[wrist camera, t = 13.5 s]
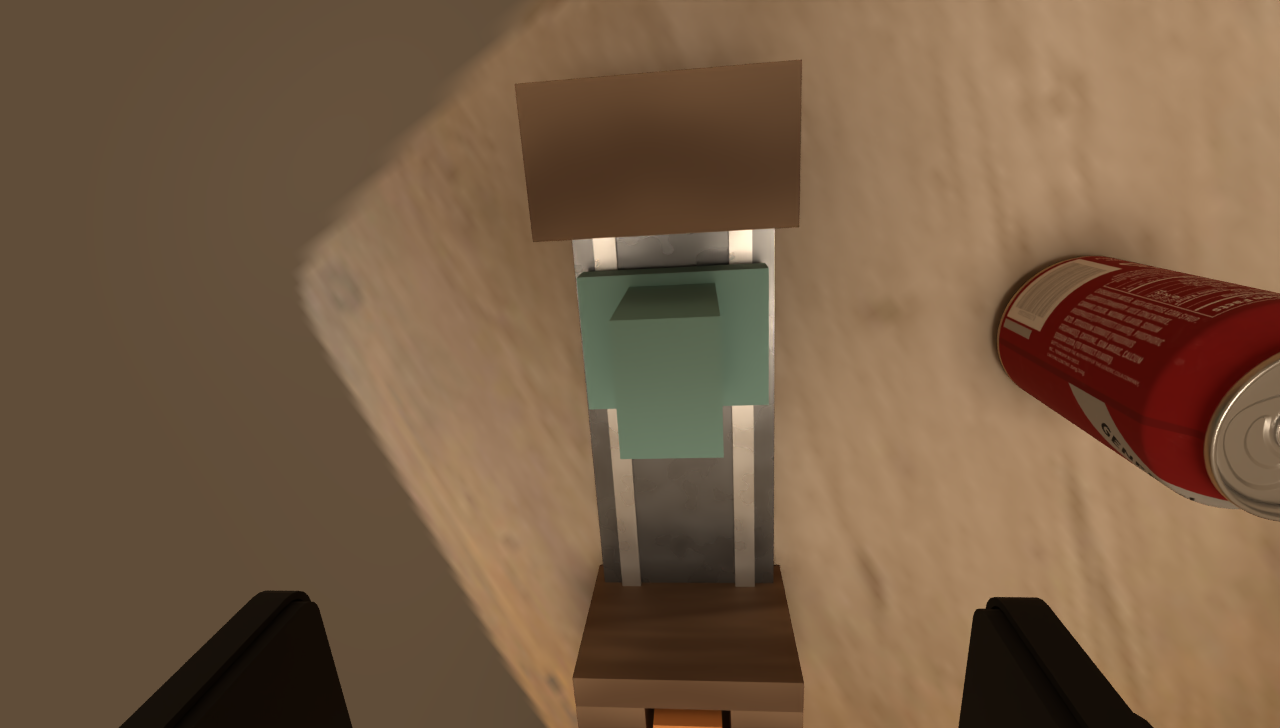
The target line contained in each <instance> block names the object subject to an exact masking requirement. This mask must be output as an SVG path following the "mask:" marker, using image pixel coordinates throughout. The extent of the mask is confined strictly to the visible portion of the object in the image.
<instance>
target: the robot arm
mask: <svg viewBox="0 0 1280 728" xmlns="http://www.w3.org/2000/svg"><path fill="white" fill-rule="evenodd" d="M119 728H352V724H351V721H350V718H349V714H348V710H347V707H346V703H345V699H344V696H343V692H342V689H341V685H340V682H339V678H338V675H337V671H336V667H335V664H334V660H333V657H332V654H331V649H330V646H329V642H328V639H327V635H326V632H325V628H324V625H323V621H322V618H321V614H320V610H319V608H318V606H317V604H316V603H315V602H311V600H310V598H309V596H308V595H307V594H306V593H305V592H301V591H263V592H260V593H258V594H257V595H256V596H254V597H253V598H252V599H251V600H250V601H249V602H248V603H247V604H246V605H245V606H244V607H243V608H242V609H241V610H239V611H238V612H237V613H236V614H235V615H234V616H233V617H232V618H231V619H230V620H229V621H228V622H227V623H226V624H225V625H224V626H223V627H222V628H221V629H220V630H219V631H218V632H217V633H216V634H215V635H214V636H213V637H212V638H211V639H210V640H209V641H208V642H207V643H206V644H205V645H204V646H202V647H201V648H200V650H199V651H197V652H196V653H195V654H194V655H193V656H192V657H191V658H190V659H189V660H188V661H187V662H186V663H185V664H184V665H183V666H182V667H181V668H180V669H179V670H178V671H177V672H176V673H175V674H174V675H173V676H172V677H171V678H170V679H169V680H168V681H167V682H165V683H164V685H162V686H161V687H160V688H159V689H158V690H157V691H156V692H155V693H154V694H153V695H152V696H151V697H150V698H149V699H148V700H147V701H146V702H145V703H144V704H143V705H142V706H141V707H140V708H139V709H138V710H137V711H136V712H135V713H134V714H133V715H132V716H131V717H130V718H128V719H127V720H126V722H124V723H123V724H122V725H121V726H120V727H119ZM959 728H1153V727H1152V726H1151V725H1150V724H1149V723H1148V722H1147V720H1145V719H1143V718H1142V717H1140V716H1138V715H1137V714H1135V713H1133V712H1132V711H1131V709H1130V708H1129V707H1128V706H1127V704H1126V703H1125V702H1124V700H1123V699H1122V698H1121V697H1120V695H1119V694H1118V693H1117V692H1116V690H1115V689H1114V688H1113V687H1112V685H1111V684H1110V683H1109V682H1108V680H1107V679H1106V678H1105V676H1104V675H1103V674H1102V673H1101V671H1100V670H1099V669H1098V668H1097V666H1096V665H1095V664H1094V663H1093V661H1092V660H1091V659H1090V658H1089V656H1088V655H1087V654H1086V652H1085V651H1084V650H1083V649H1082V647H1081V646H1080V645H1079V644H1078V642H1077V641H1076V640H1075V639H1074V637H1073V636H1072V635H1071V634H1070V632H1069V631H1068V630H1067V629H1066V627H1065V626H1064V625H1063V623H1062V622H1061V621H1060V620H1059V618H1058V617H1057V616H1056V615H1055V613H1054V612H1053V611H1052V610H1051V608H1050V607H1049V606H1048V605H1047V604H1046V603H1045V602H1044V601H1043V600H1041V599H1039V598H1023V597H993V598H990V599H989V601H988V602H987V605H986V609H976V611H975V612H974V616H973V622H972V629H971V637H970V644H969V652H968V660H967V667H966V675H965V682H964V690H963V698H962V705H961V713H960V720H959Z"/></svg>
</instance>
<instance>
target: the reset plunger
mask: <svg viewBox="0 0 1280 728" xmlns="http://www.w3.org/2000/svg"><path fill="white" fill-rule="evenodd" d="M653 728H722V710H693V709H656V708H655V709H654V722H653Z"/></svg>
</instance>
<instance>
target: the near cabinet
mask: <svg viewBox="0 0 1280 728" xmlns="http://www.w3.org/2000/svg"><path fill="white" fill-rule="evenodd" d="M801 85H802V60H792V61H780V62H768V63H756V64H745V65H733V66H721V67H709V68H697V69H685V70H674V71H662V72H650V73H638V74H626V75H614V76H603V77H591V78H579V79H567V80H555V81H543V82H532V83H520V84H515V91H516V99H517V108H518V117H519V125H520V134H521V142H522V151H523V160H524V168H525V177H526V186H527V194H528V203H529V211H530V220H531V229H532V237H533V242H542V241H560V240H578V239H595V238H613V237H631V236H649V235H667V234H685V233H703V232H720V231H738V230H756V229H774V228H792V227H799V210H800V148H801Z"/></svg>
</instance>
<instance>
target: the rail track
mask: <svg viewBox="0 0 1280 728" xmlns="http://www.w3.org/2000/svg"><path fill="white" fill-rule="evenodd" d="M572 246H573V256H574V267H575V277H576V287H577V277H578V276H579V275H580V274H581V273H582V272H592V271H612V270H632V269H651V268H671V267H691V266H711V265H731V264H751V263H765V264H766V265H767V266H768V268H769V405H744V406H723V447H724V458H664V459H620V447H619V435H618V423H617V410H616V409H589V403H588V412H589V422H590V432H591V443H592V453H593V463H594V474H595V484H596V494H597V505H598V515H599V526H600V536H601V546H602V557H603V567H604V577H605V582H622V585H623V586H641V583H735V587H755V583H773V559H774V309H775V228H774V229H756V230H738V231H720V232H703V233H685V234H667V235H649V236H631V237H613V238H595V239H578V240H572ZM577 298H578V289H577ZM578 308H579V299H578ZM579 318H580V310H579ZM580 329H581V320H580ZM581 339H582V330H581ZM582 349H583V341H582ZM583 360H584V351H583ZM584 370H585V362H584ZM585 381H586V372H585ZM586 391H587V382H586ZM587 401H588V393H587Z"/></svg>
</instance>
